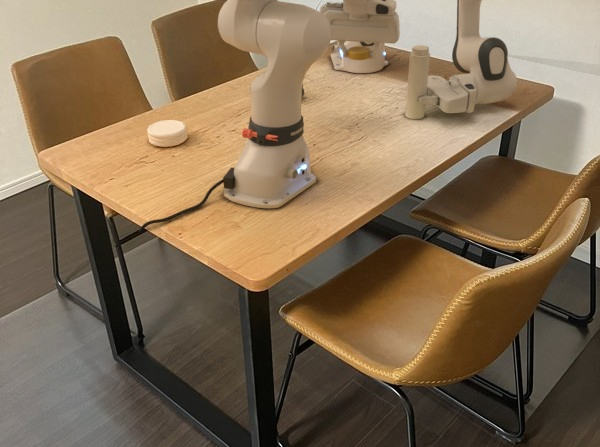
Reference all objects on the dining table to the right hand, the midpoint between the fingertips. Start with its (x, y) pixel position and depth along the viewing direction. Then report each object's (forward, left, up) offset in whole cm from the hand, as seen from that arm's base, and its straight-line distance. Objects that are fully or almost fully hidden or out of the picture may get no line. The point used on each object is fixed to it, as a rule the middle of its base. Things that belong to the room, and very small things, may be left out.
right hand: (413, 96), depth 169 cm
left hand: (-3, -15, +11) cm, 19 cm away
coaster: (-3, -67, -6) cm, 67 cm away
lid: (-3, -15, +13) cm, 20 cm away
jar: (0, +1, -6) cm, 6 cm away
